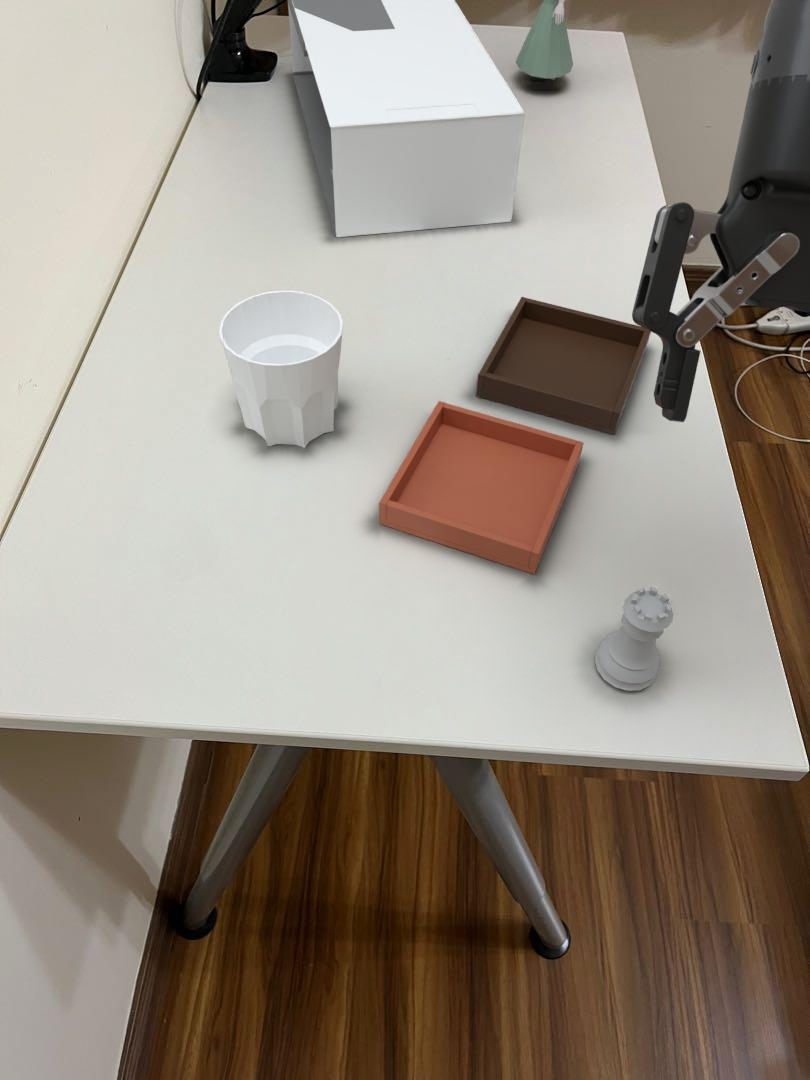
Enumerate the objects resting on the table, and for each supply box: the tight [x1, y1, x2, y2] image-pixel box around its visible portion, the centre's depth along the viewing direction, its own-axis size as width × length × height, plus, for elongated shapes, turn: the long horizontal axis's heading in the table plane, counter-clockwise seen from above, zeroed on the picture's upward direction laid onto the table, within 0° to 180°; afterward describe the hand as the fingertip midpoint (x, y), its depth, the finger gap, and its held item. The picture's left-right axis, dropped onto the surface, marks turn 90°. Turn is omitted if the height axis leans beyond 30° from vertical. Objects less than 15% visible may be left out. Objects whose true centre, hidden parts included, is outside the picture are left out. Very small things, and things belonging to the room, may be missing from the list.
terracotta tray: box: [378, 400, 585, 575], centre depth 70 cm, size 13×13×3 cm
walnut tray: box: [475, 296, 652, 436], centre depth 80 cm, size 13×13×3 cm
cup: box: [218, 290, 344, 449], centre depth 73 cm, size 10×10×10 cm
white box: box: [287, 0, 526, 238], centre depth 106 cm, size 45×21×12 cm, turn 11°
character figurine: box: [515, 0, 574, 91], centre depth 117 cm, size 16×8×18 cm, turn 178°
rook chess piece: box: [594, 586, 675, 692], centre depth 58 cm, size 4×4×8 cm
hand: (753, 428), depth 45 cm, fingers open, 8 cm apart
